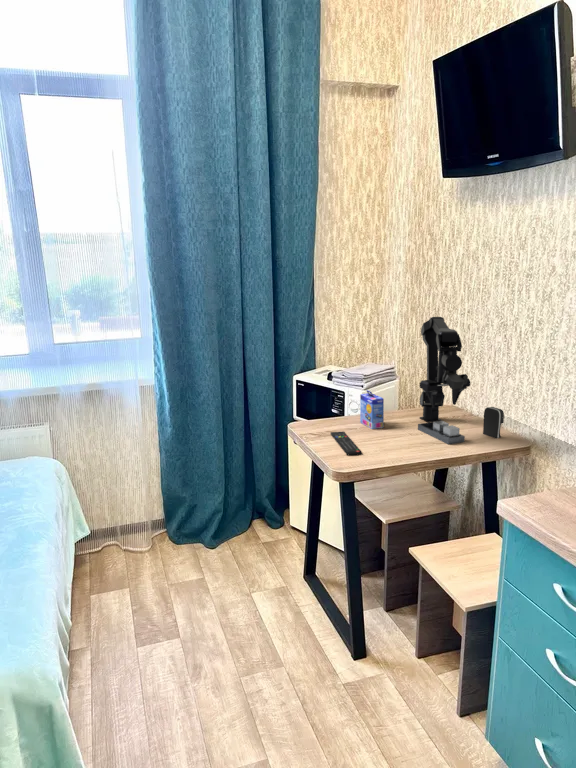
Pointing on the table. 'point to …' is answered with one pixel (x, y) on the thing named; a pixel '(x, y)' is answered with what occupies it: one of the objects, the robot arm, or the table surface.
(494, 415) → the black zippered case
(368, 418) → the ink cartridge box
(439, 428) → the grey block
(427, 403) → the robot arm
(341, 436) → the remote control
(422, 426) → the dark grey tray
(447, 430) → the light grey block
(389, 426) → the table surface
